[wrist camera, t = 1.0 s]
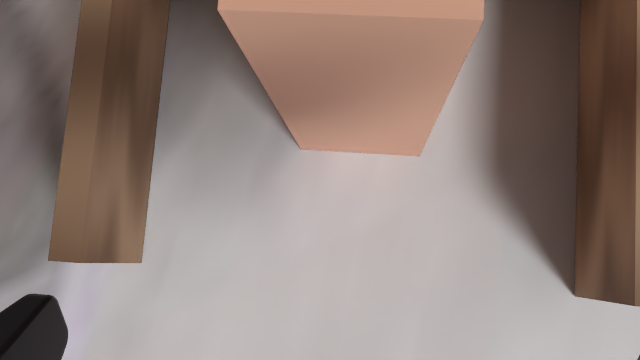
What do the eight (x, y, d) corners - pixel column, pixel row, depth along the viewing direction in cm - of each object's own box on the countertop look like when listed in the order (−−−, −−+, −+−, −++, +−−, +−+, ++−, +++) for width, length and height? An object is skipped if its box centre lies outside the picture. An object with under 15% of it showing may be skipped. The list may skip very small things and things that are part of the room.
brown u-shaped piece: (603, 298, 22) (672, 309, 17) (116, 260, 23) (48, 260, 18) (608, -46, 23) (672, -128, 18) (153, -59, 25) (99, -138, 20)
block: (419, 156, 23) (483, 20, 10) (300, 149, 23) (217, 9, 10) (425, 41, 24) (493, -226, 11) (309, 36, 24) (241, -227, 11)
